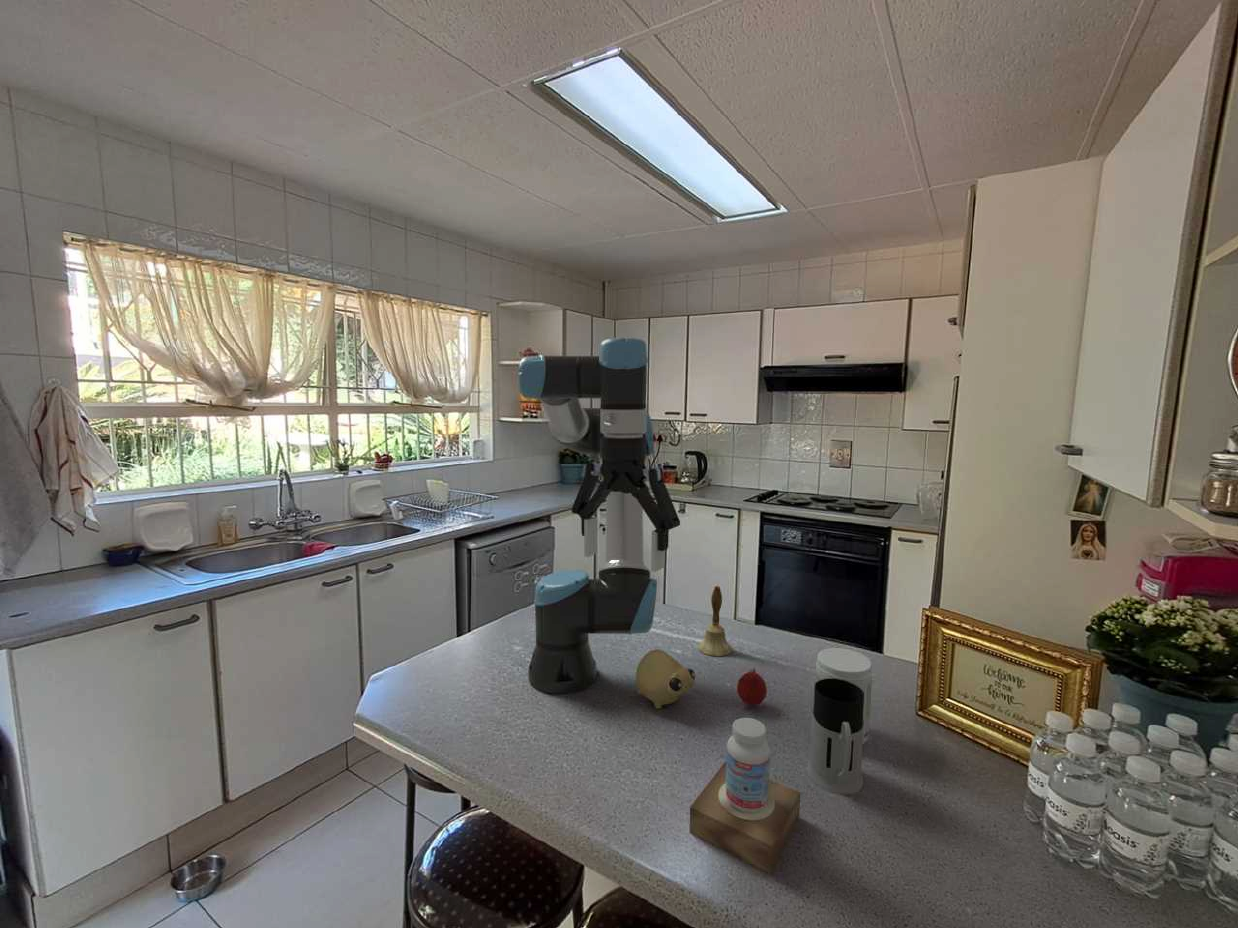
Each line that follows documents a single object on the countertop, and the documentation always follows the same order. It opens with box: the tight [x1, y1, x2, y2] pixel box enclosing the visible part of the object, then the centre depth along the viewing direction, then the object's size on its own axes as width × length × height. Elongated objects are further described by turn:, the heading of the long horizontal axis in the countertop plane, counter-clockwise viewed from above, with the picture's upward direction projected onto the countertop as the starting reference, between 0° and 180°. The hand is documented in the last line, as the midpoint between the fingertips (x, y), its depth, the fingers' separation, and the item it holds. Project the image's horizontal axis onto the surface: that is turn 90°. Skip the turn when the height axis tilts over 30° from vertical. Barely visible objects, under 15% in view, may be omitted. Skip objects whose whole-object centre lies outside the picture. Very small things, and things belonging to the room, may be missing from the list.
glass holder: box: [806, 678, 864, 795], centre depth 87 cm, size 9×14×15 cm, turn 167°
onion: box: [736, 667, 768, 708], centre depth 110 cm, size 6×6×8 cm
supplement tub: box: [815, 647, 873, 745], centre depth 101 cm, size 10×10×15 cm
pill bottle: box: [726, 717, 771, 813], centre depth 79 cm, size 6×6×11 cm
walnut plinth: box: [689, 761, 801, 875], centre depth 80 cm, size 12×12×4 cm
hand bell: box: [697, 585, 733, 657], centre depth 135 cm, size 8×8×16 cm
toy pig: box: [635, 648, 696, 710], centre depth 111 cm, size 10×12×11 cm
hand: (622, 562), depth 92 cm, fingers open, 13 cm apart
